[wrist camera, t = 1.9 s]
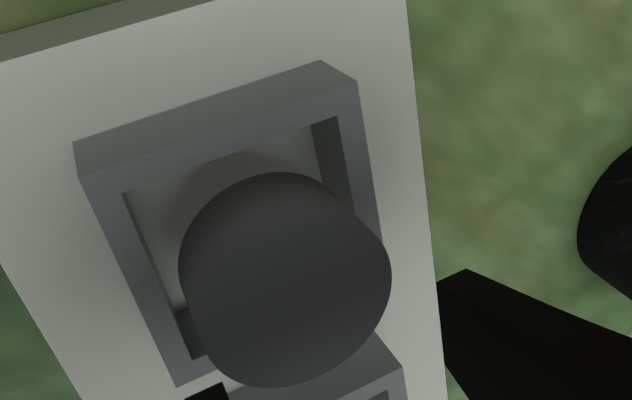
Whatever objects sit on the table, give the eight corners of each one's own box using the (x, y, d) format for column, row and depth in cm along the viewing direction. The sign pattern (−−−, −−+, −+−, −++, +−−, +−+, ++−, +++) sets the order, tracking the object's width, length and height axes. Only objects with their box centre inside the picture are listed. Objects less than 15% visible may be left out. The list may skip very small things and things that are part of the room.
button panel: (176, 512, 24) (206, 642, 20) (-80, 56, 14) (-127, 126, 10) (412, 391, 26) (483, 483, 22) (344, -62, 16) (449, -46, 12)
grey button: (208, 355, 14) (232, 418, 12) (150, 213, 12) (171, 267, 10) (360, 287, 15) (402, 336, 13) (333, 145, 13) (378, 183, 11)
